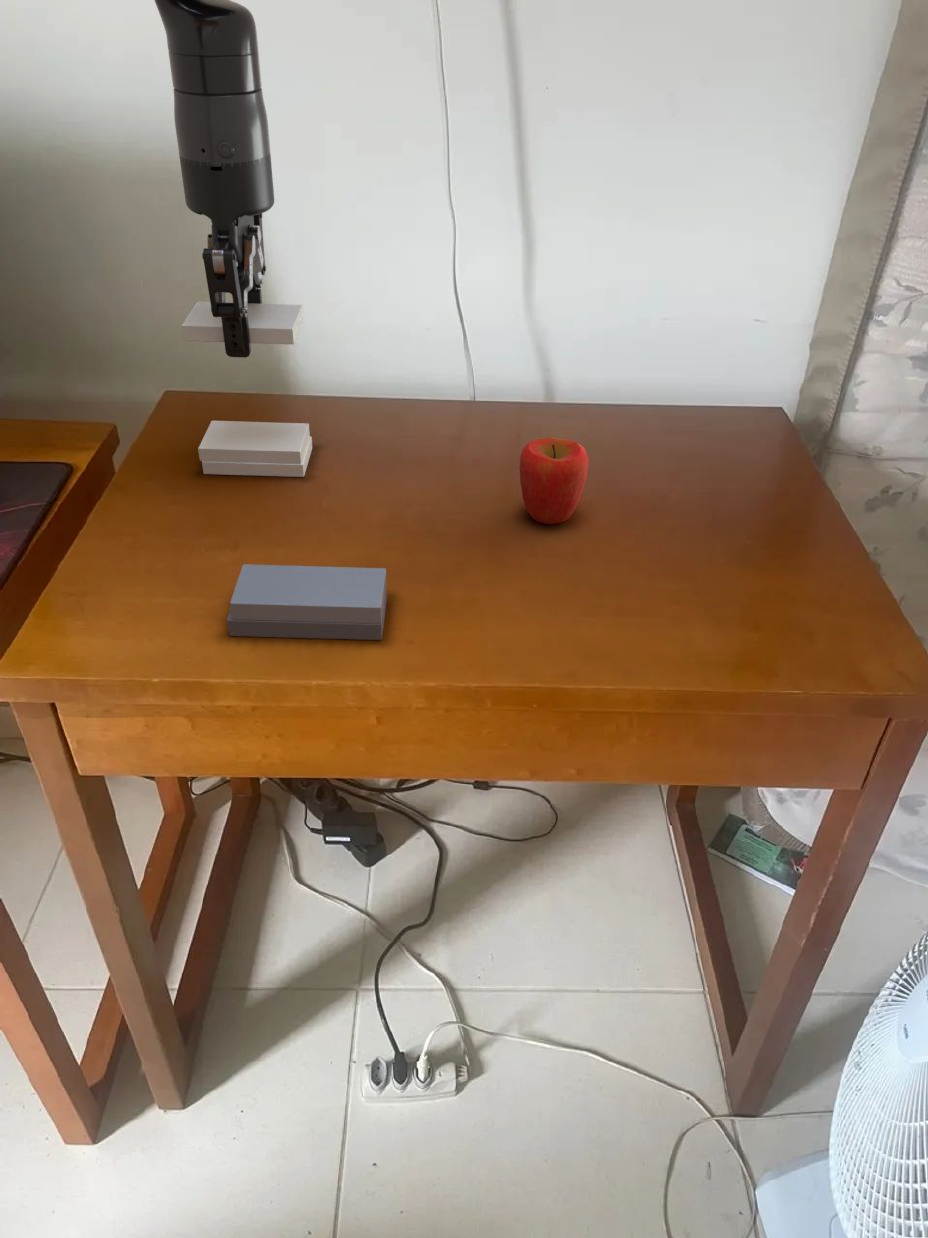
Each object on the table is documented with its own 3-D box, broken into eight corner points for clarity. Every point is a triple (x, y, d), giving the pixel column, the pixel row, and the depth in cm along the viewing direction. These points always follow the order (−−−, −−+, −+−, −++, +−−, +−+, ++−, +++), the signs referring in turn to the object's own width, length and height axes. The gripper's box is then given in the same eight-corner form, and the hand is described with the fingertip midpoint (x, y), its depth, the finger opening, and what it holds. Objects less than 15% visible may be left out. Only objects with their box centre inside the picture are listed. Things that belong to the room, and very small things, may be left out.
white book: (183, 341, 89) (181, 325, 88) (199, 316, 94) (196, 301, 93) (293, 344, 89) (292, 328, 88) (303, 320, 94) (302, 304, 93)
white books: (201, 474, 97) (197, 448, 96) (214, 444, 102) (211, 420, 101) (304, 477, 98) (302, 451, 96) (312, 447, 103) (310, 423, 101)
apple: (562, 494, 96) (569, 424, 92) (594, 525, 92) (603, 452, 87) (505, 506, 94) (509, 435, 90) (534, 538, 90) (540, 465, 85)
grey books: (228, 636, 77) (223, 603, 75) (242, 595, 81) (238, 563, 79) (381, 640, 77) (380, 608, 75) (386, 599, 81) (386, 567, 80)
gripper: (199, 129, 88) (221, 313, 98) (157, 167, 76) (188, 371, 87) (283, 131, 88) (297, 315, 98) (253, 170, 77) (273, 373, 87)
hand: (245, 340), depth 92 cm, fingers closed on white book, 6 cm apart
